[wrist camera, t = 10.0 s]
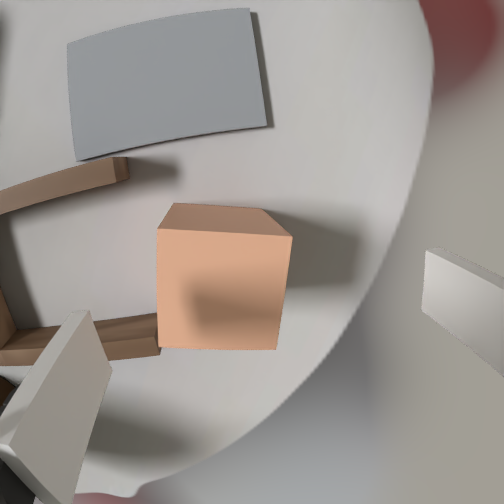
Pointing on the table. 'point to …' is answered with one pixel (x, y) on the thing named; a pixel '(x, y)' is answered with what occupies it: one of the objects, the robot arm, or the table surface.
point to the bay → (109, 331)
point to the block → (220, 278)
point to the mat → (164, 81)
